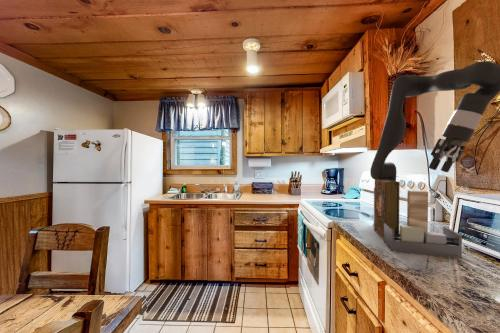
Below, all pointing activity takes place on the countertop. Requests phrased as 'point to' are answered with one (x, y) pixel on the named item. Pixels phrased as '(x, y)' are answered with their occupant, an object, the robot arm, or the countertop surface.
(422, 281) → the countertop surface
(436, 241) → the pale grey block
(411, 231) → the sage offcut
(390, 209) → the book
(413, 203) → the birch board
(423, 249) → the rack
